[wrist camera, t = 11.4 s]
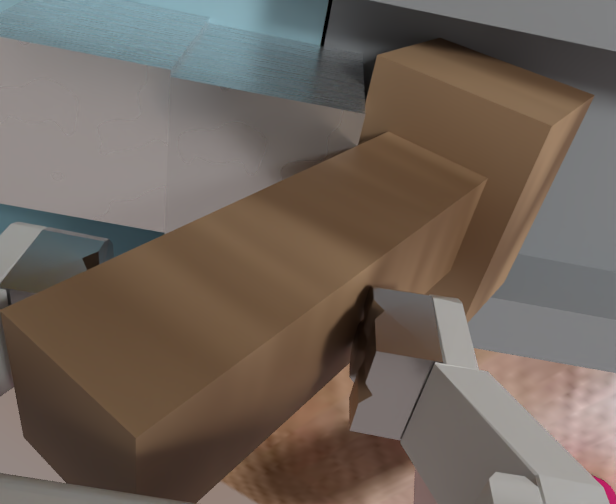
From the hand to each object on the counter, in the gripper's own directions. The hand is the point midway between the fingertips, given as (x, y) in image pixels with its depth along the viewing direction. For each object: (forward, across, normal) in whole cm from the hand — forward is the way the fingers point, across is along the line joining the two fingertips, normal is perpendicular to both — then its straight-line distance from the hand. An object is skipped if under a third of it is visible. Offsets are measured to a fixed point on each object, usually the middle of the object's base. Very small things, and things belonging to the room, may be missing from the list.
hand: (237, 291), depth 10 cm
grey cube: (+8, 0, 0) cm, 8 cm away
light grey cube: (+8, +4, 0) cm, 9 cm away
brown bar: (+7, -5, 0) cm, 9 cm away
